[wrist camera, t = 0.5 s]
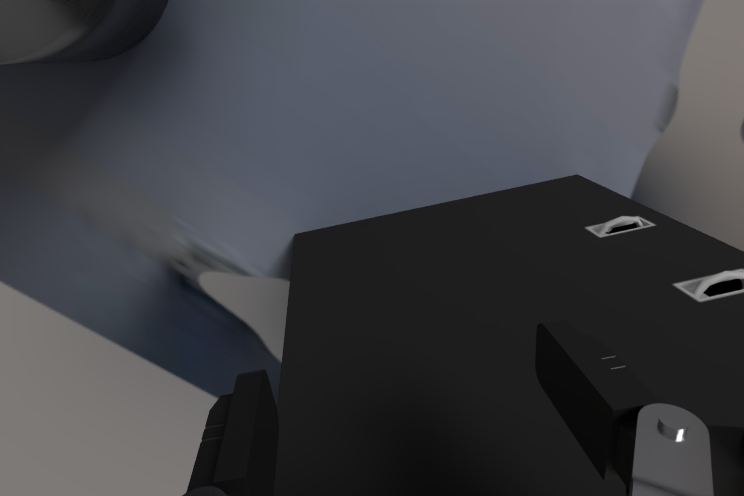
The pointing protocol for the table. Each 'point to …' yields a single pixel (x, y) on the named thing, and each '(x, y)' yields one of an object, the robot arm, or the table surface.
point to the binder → (492, 339)
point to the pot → (73, 28)
